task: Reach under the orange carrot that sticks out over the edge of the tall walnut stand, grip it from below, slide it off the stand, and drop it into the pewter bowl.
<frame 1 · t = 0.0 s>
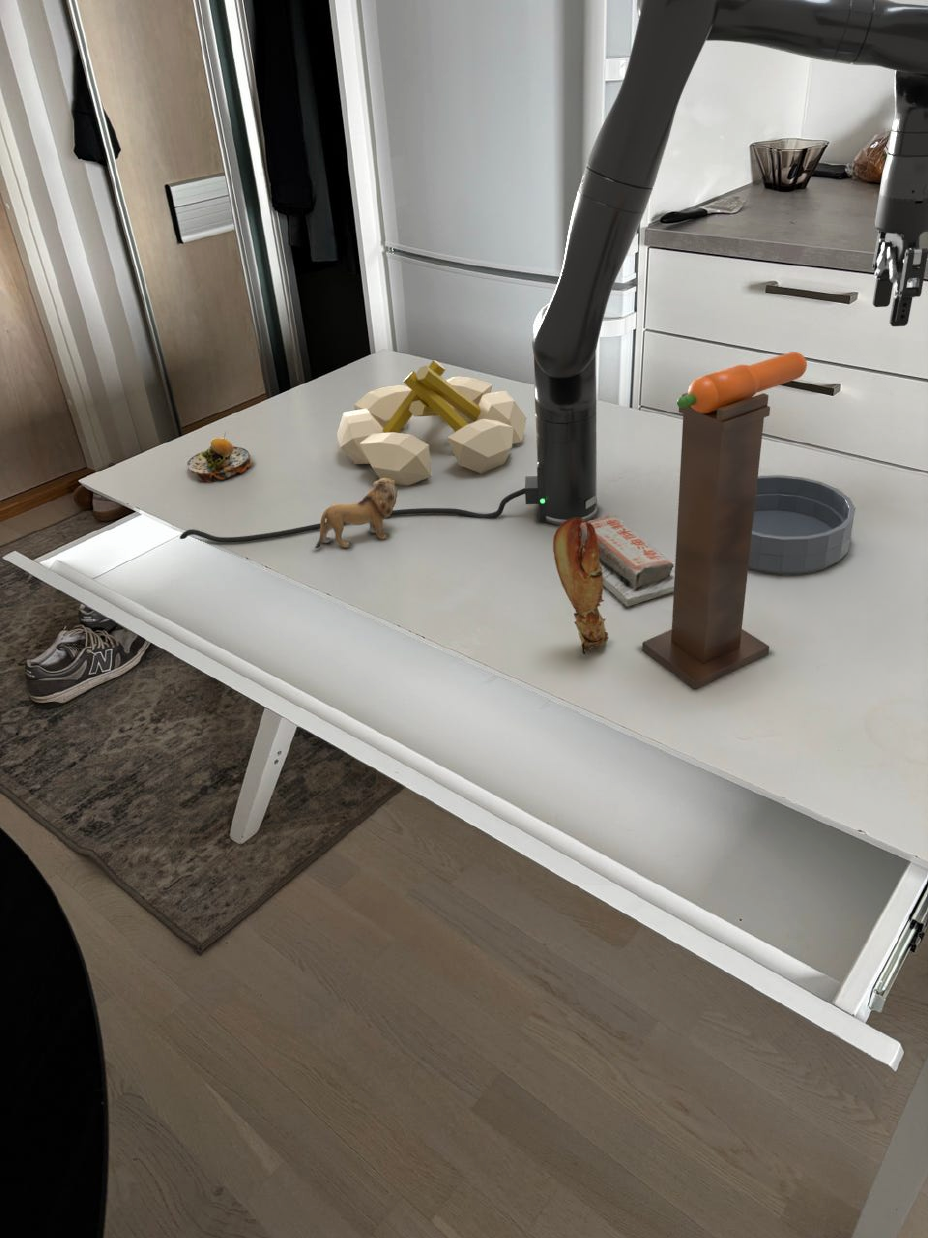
hand: (889, 315, 132), 29 cm above the table, tool pointing down, fingers open, 8 cm apart
lion figurine: (361, 538, 152), on the table
packaged product: (624, 571, 138), on the table
campfire: (433, 447, 179), on the table
crab claw: (585, 649, 123), on the table
bowl: (778, 541, 141), on the table
carrot: (750, 396, 103), point 33 cm above the table, touching stand
stand: (726, 641, 121), on the table
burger: (220, 468, 178), on the table
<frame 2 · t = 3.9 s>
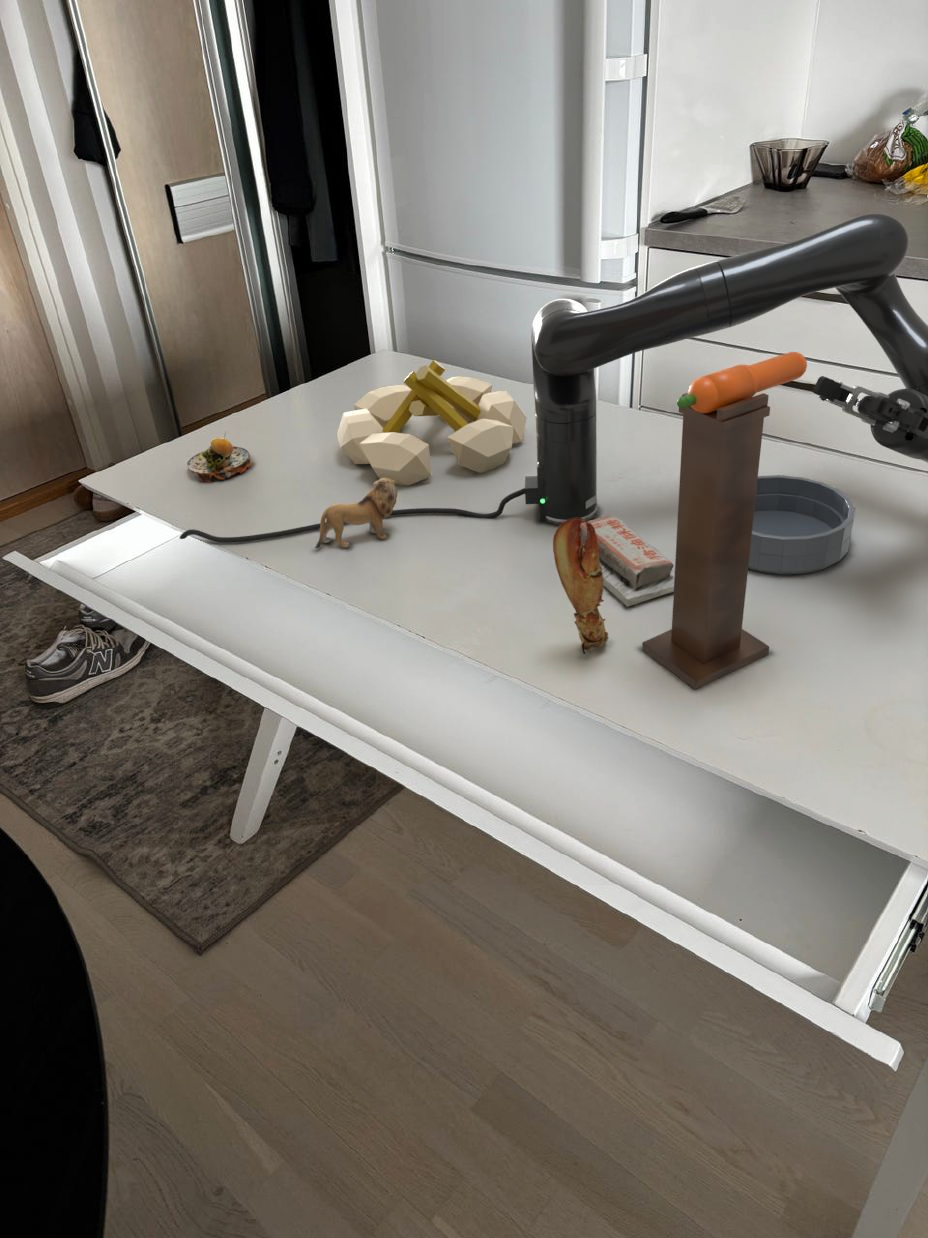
hand: (846, 394, 111), 29 cm above the table, tool pointing upward, fingers open, 8 cm apart
nothing on the table moved.
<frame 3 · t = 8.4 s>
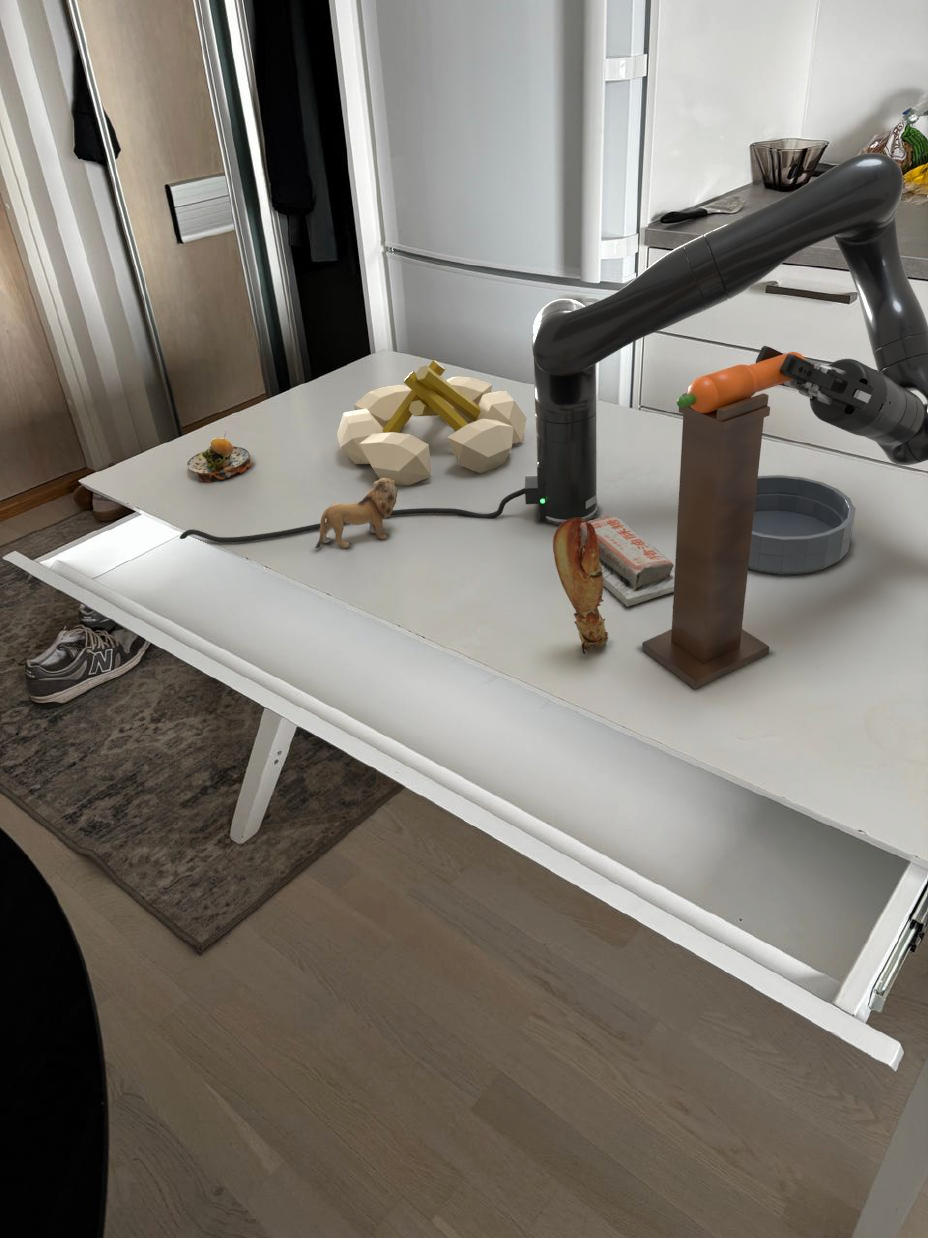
hand: (773, 359, 102), 36 cm above the table, tool pointing upward, fingers closed on carrot, 3 cm apart
carrot: (750, 396, 103), point 33 cm above the table, touching gripper, stand
everything else where it was.
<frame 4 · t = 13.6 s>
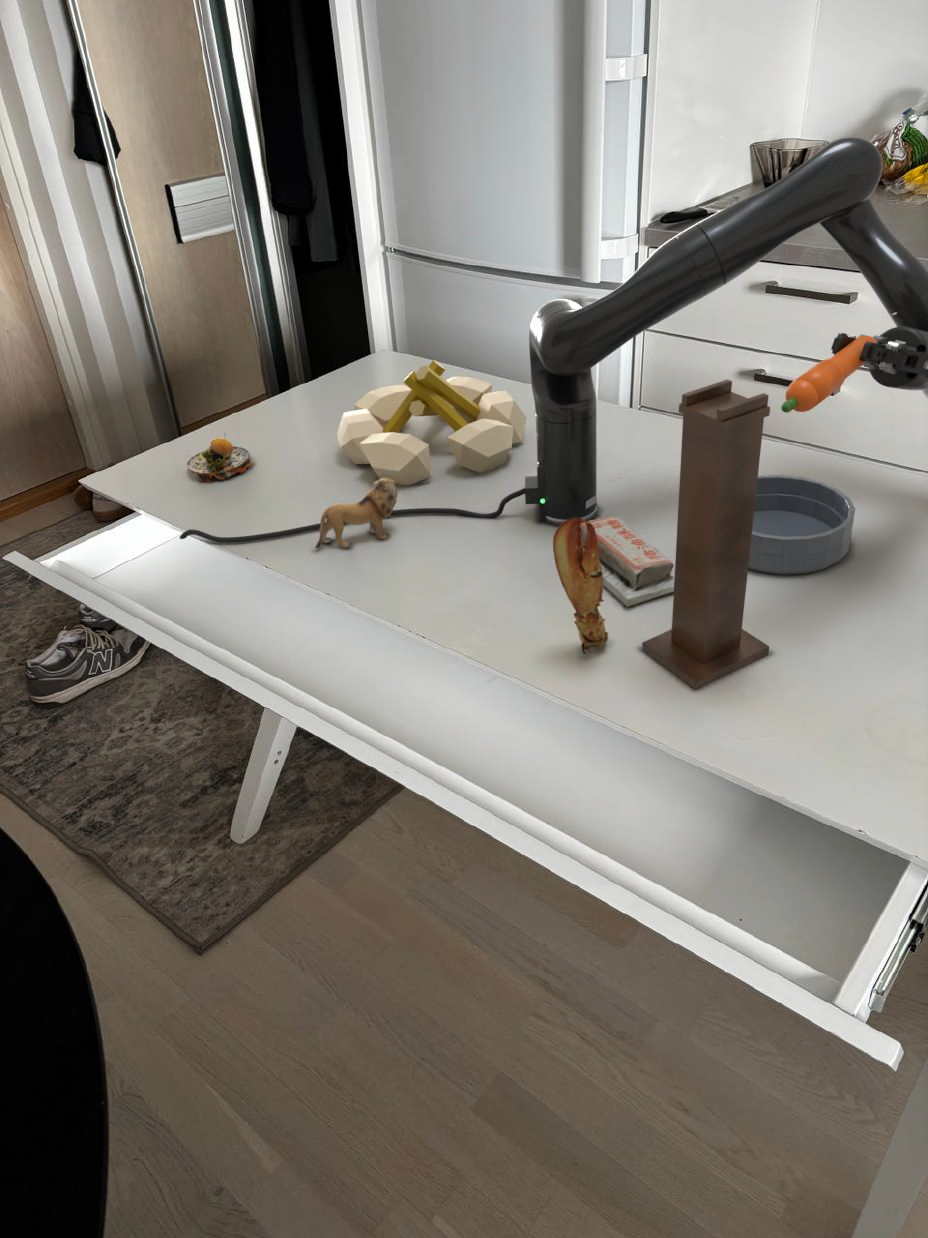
hand: (851, 347, 111), 33 cm above the table, tool pointing upward, fingers closed on carrot, 3 cm apart
carrot: (834, 384, 112), point 30 cm above the table, tilted 9°, touching gripper
everything else where it was.
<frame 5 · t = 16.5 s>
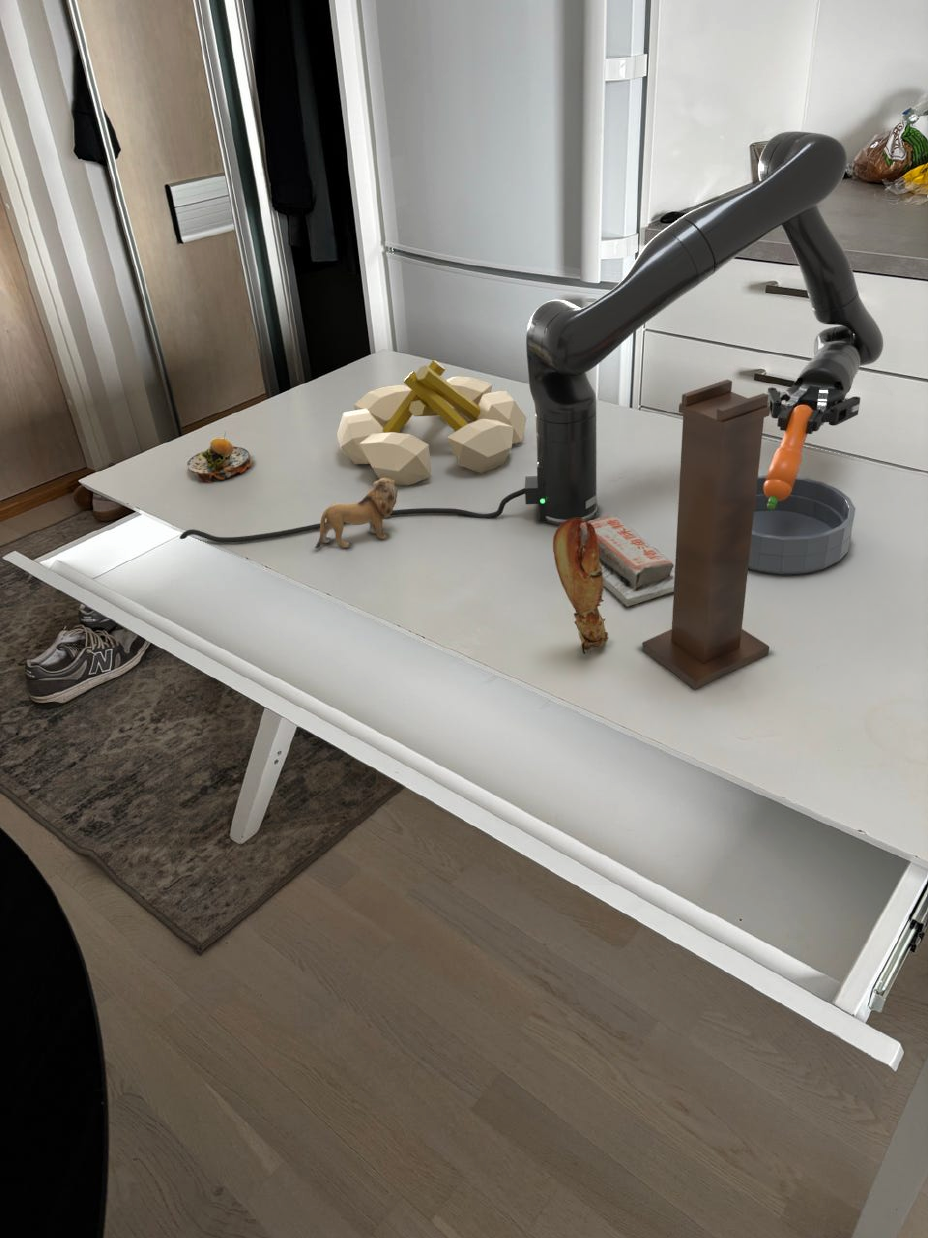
hand: (796, 425, 133), 17 cm above the table, tool horizontal, fingers closed on carrot, 3 cm apart
carrot: (791, 457, 135), point 13 cm above the table, tilted 30°, touching gripper
everything else where it was.
when the fingers open (9 cm above the table, at t = 18.9 s): carrot drops 2 cm, resting on bowl.
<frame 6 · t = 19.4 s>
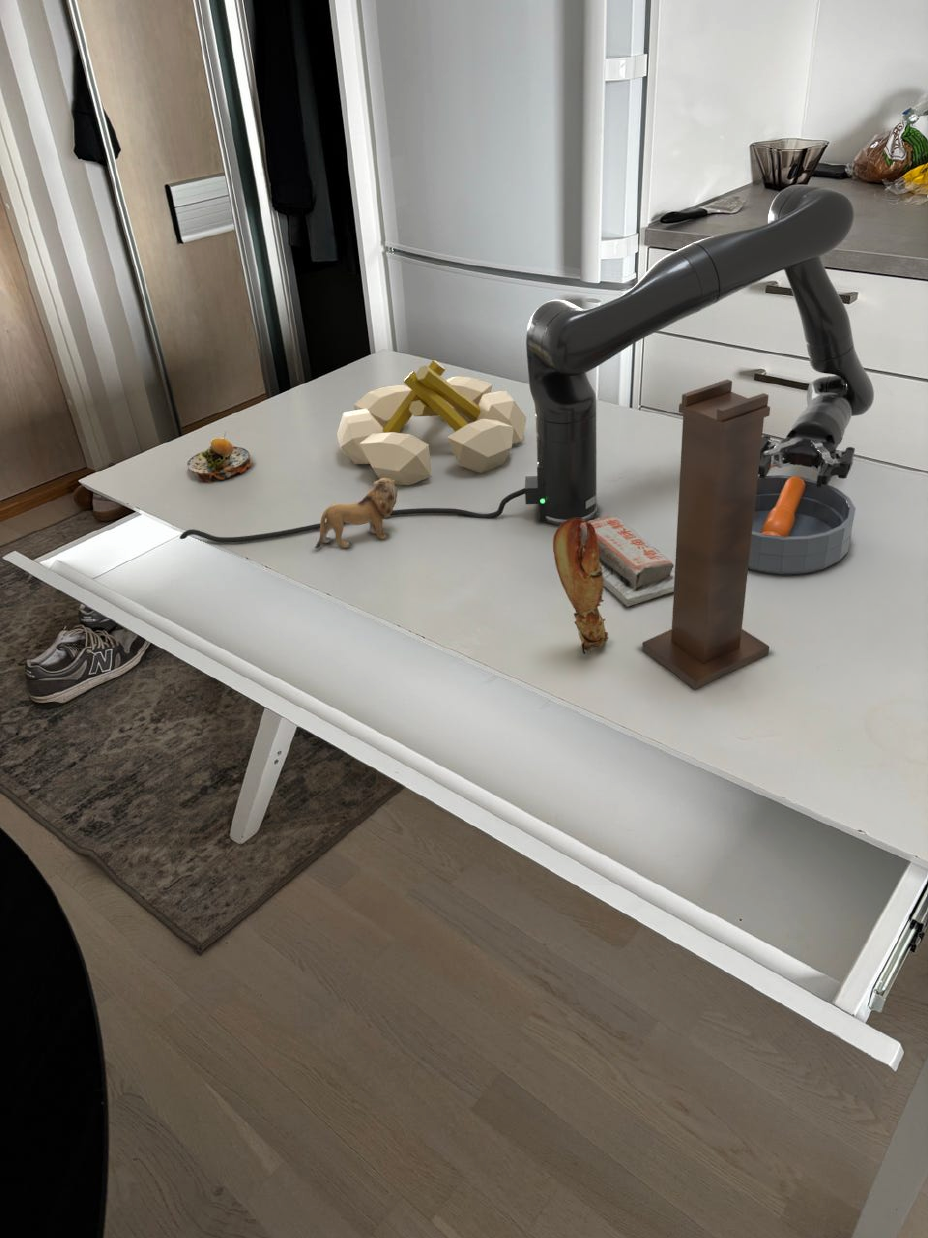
hand: (790, 476, 138), 9 cm above the table, tool horizontal, fingers open, 7 cm apart
carrot: (783, 521, 141), point 2 cm above the table, tilted 14°, touching bowl
everything else where it was.
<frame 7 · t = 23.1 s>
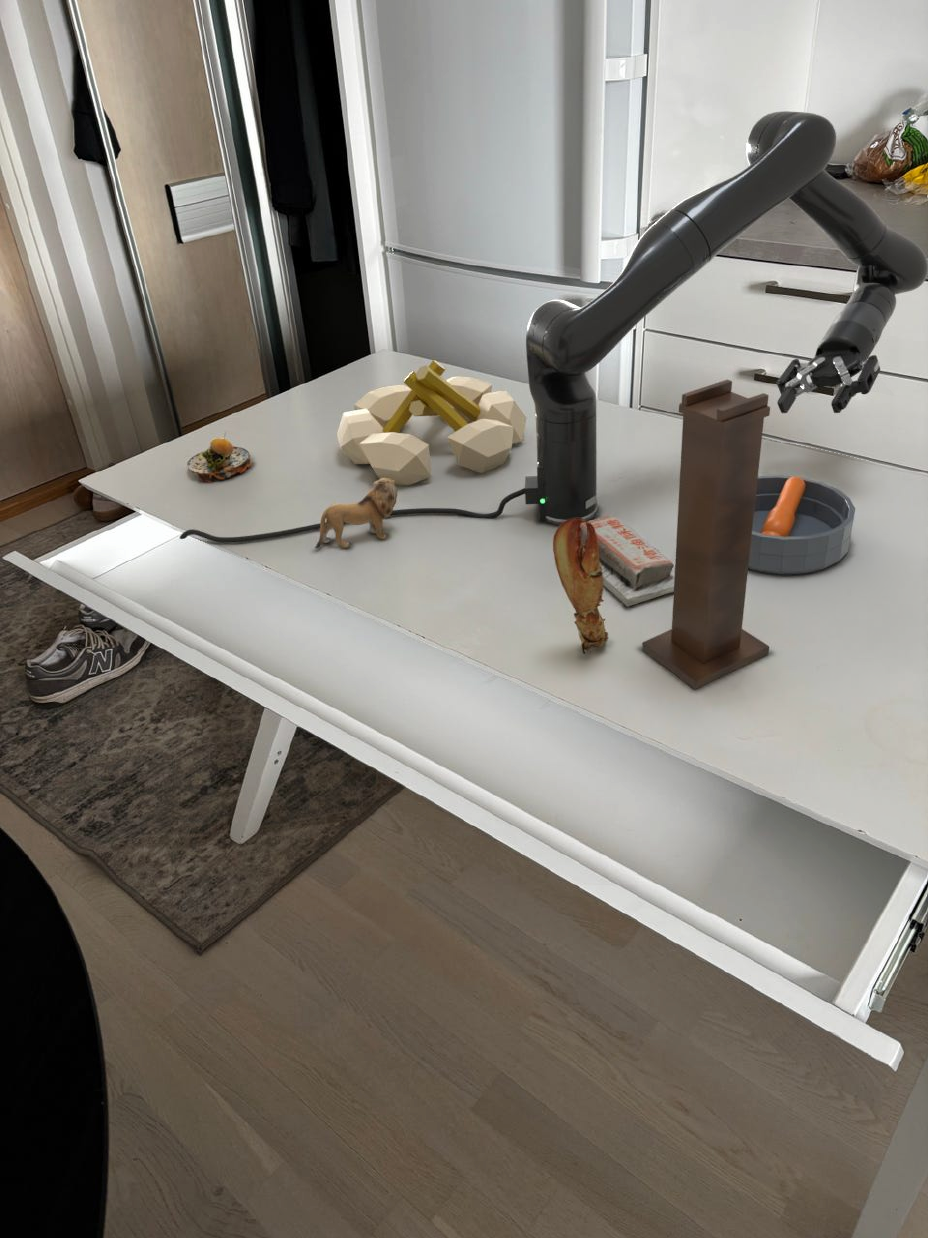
hand: (807, 408, 143), 15 cm above the table, tool tilted 70°, fingers open, 8 cm apart
nothing on the table moved.
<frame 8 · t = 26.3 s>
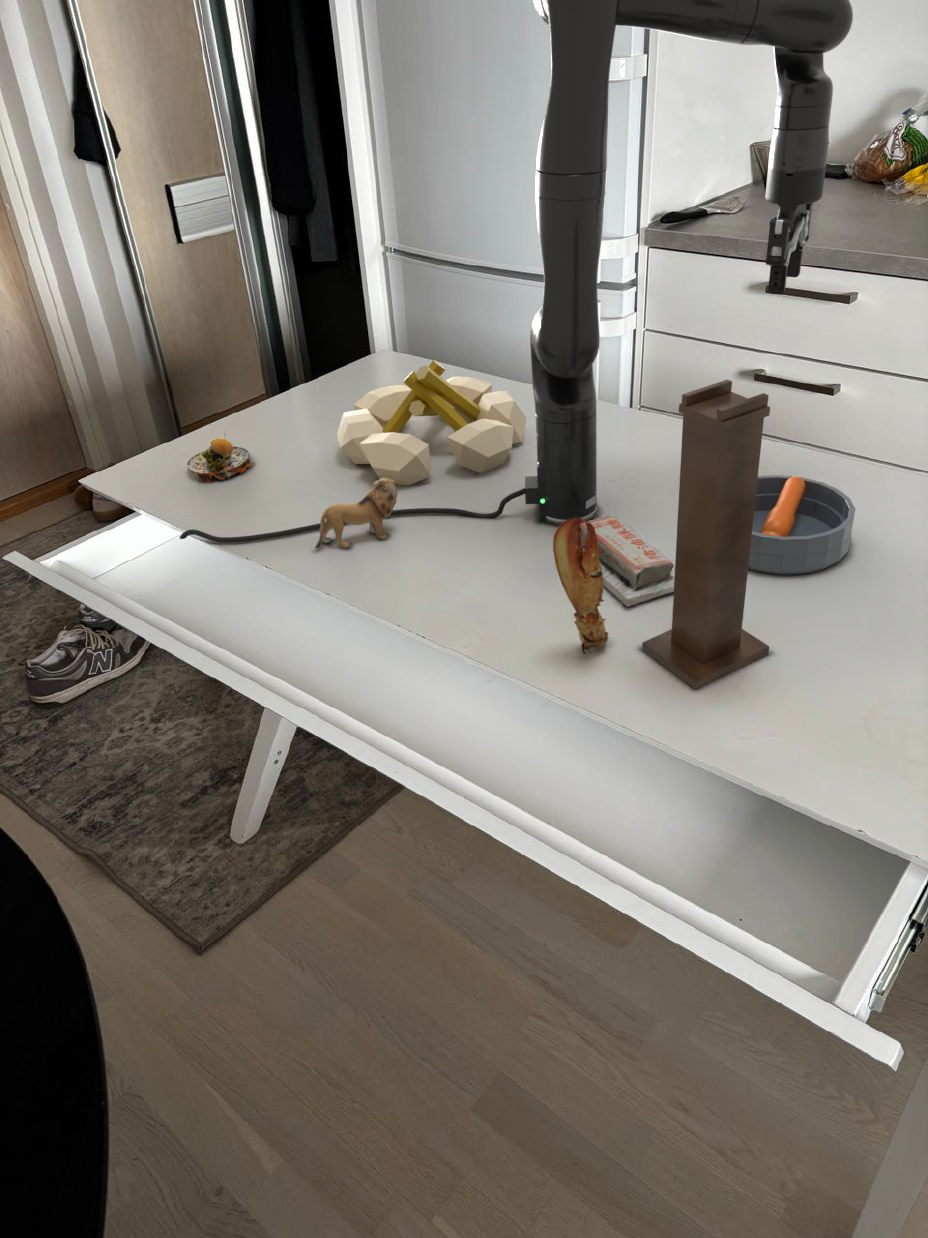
hand: (784, 284, 138), 32 cm above the table, tool pointing down, fingers open, 8 cm apart
nothing on the table moved.
at the end: carrot inside the target area in the bowl (2.1 cm from its centre), point 2.2 cm above the bowl's base; the gripper is holding nothing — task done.
